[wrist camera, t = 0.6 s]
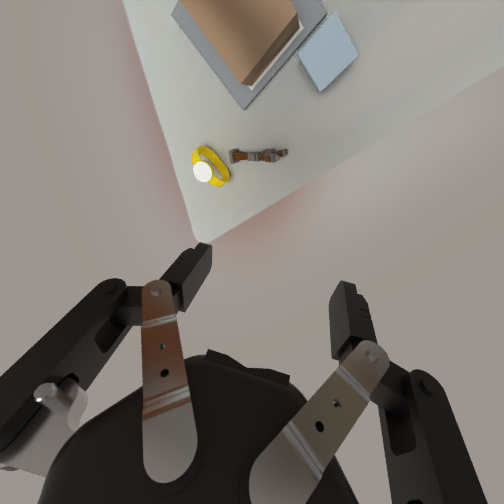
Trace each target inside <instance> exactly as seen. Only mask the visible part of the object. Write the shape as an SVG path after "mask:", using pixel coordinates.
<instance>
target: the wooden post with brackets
mask: <svg viewBox="0 0 504 504" xmlns="http://www.w3.org/2000/svg"><path fill="white" fill-rule="evenodd" d="M286 154H287V149H284V150H279V151H278V152H277V151H274V149H271V150H269V149H266V150H264V151H263V154H261V152H259V153H258V152H250V153H243V152H239V150H238V149H233V150H230V151H229V157H230V163H231V164H234V163H236V162H239V161H240V160H248V161H260V160H262V161H265V162H272V163H274V162H276V161H278V160H279V158H280V157H283V156H285V155H286Z"/></svg>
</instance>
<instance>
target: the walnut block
mask: <svg viewBox="0 0 504 504" xmlns="http://www.w3.org/2000/svg"><path fill="white" fill-rule="evenodd" d="M180 1H181V2H182V4H183V5H184V7H185V8H186V9H187V11H188V12H189V13H190V15H191V16H192V18H193V19H194V20H195V22H196V23H197V24H198V26H199V27H200V29H201V30H202V31H203V33H204V34H205V35H206V37H207V38H208V40H209V41H210V42H211V44H212V45H213V46H214V48H215V49H216V51H217V52H218V53H219V55H220V56H221V57H222V59H223V60H224V62H225V63H226V64H227V66H228V67H229V68H230V70H231V71H232V73H233V74H234V75H235V77H236V78H237V79H238V81H239V82H240V84H244V85H248V86H252V85H253V84H254V83H255V82H256V80H257V79H258V78H259V77H260V75H261V74H262V73H263V72H264V71H265V69H266V68H267V67H268V66H269V65H270V63H271V62H272V61H273V60H274V58H275V57H276V56H277V55H278V54H279V52H280V51H281V50H282V49H283V48H284V46H285V45H286V44H287V43H288V41H289V40H290V39H291V38H292V37H293V35H294V34H295V33H296V32H297V31H298V29H299V28H300V27H299V21H298V15H297V11H296V10H295V8H294V6H293V4H292V3H291V1H290V0H180Z"/></svg>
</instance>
